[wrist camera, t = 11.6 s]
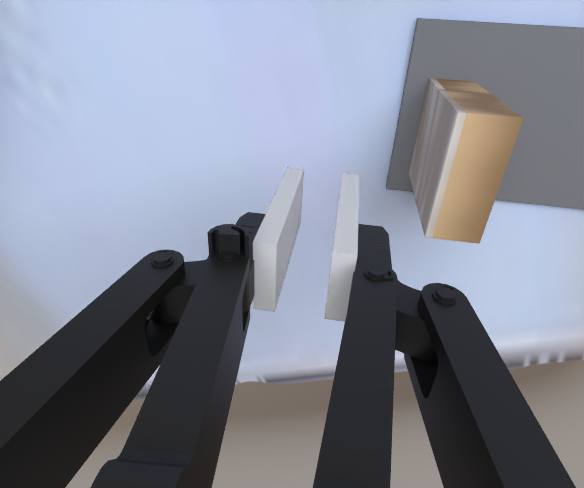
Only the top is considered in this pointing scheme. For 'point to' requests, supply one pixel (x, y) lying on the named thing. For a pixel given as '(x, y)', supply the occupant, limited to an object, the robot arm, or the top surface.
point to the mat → (507, 100)
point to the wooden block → (460, 158)
